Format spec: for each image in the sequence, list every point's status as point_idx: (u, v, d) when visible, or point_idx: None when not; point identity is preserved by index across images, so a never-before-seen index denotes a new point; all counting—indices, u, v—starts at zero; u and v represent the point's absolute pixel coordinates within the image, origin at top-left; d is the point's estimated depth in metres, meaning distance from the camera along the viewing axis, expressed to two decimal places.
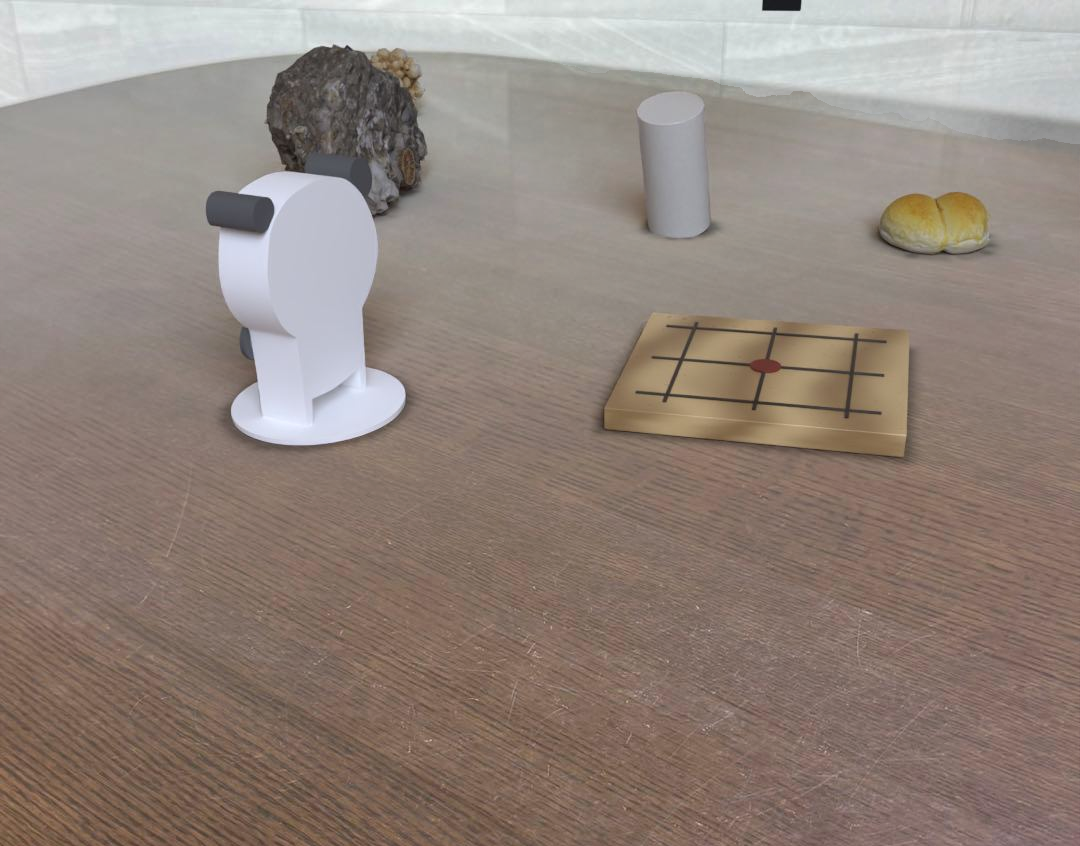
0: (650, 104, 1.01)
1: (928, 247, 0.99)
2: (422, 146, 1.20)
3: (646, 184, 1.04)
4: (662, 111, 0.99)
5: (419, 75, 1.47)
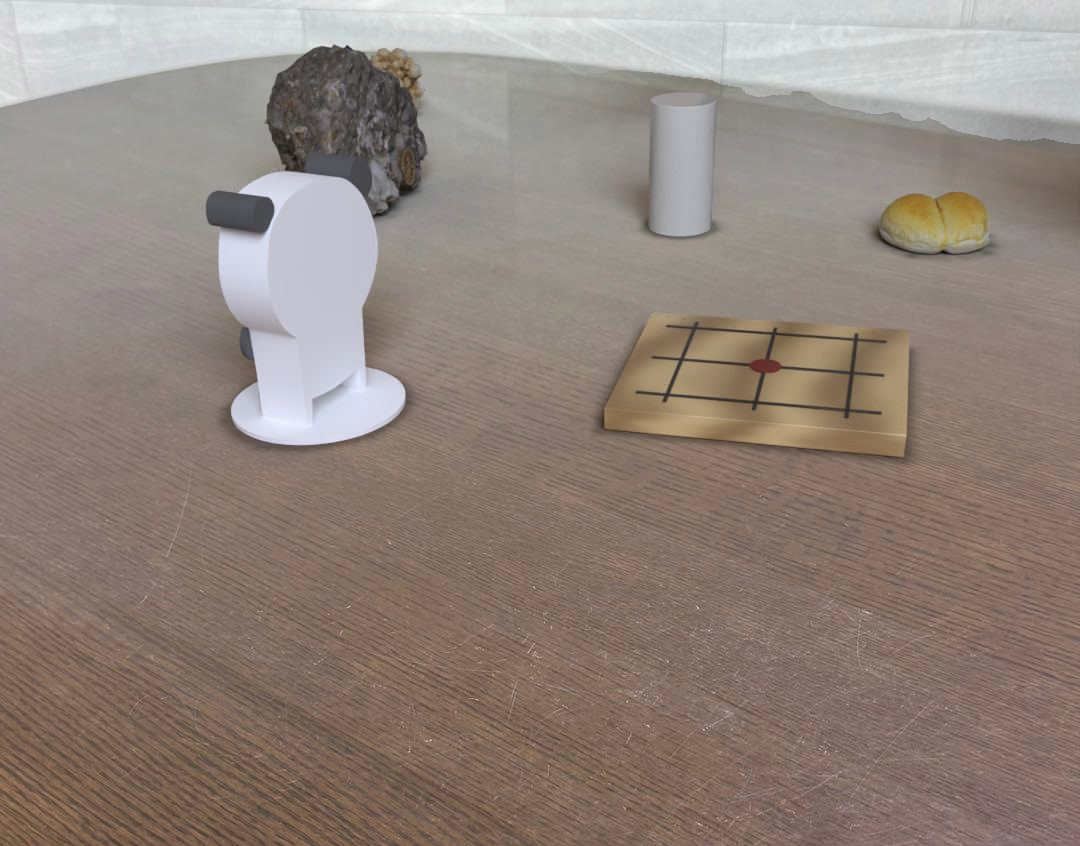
0: (664, 97, 1.03)
1: (928, 247, 0.99)
2: (422, 146, 1.20)
3: (652, 176, 1.04)
4: (676, 101, 1.01)
5: (419, 75, 1.47)
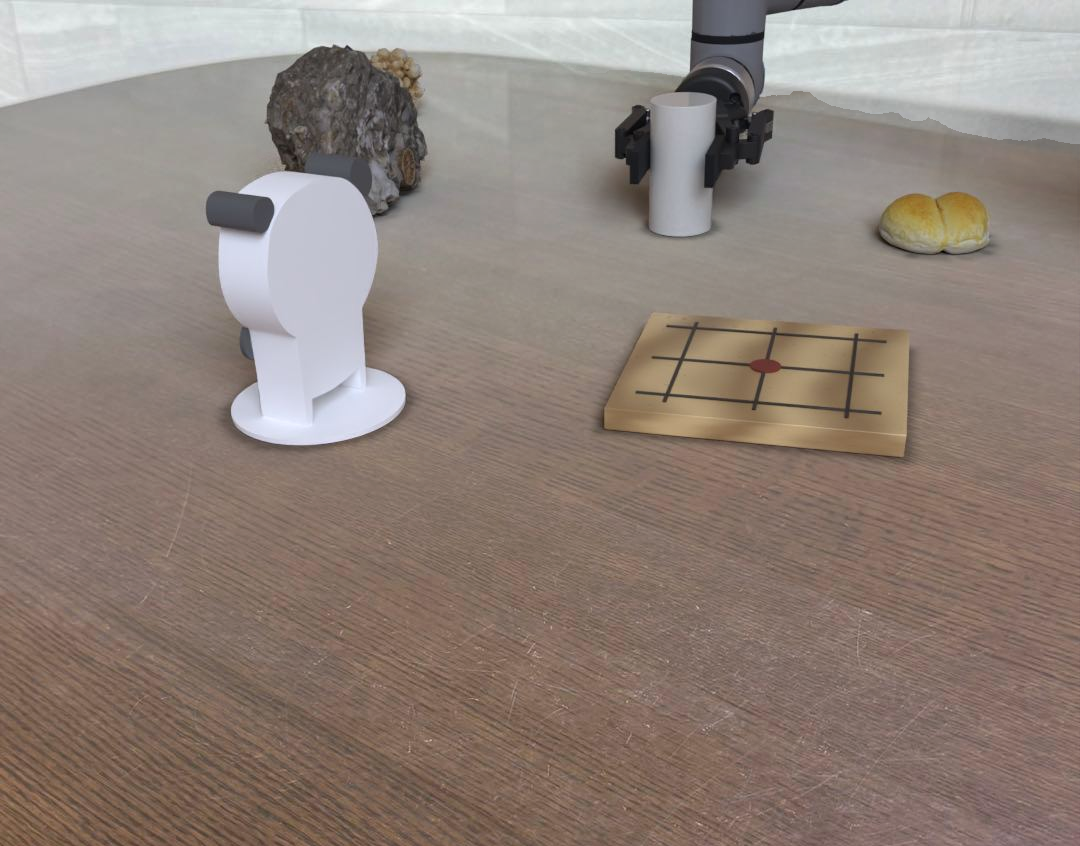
0: (663, 97, 1.03)
1: (928, 247, 0.99)
2: (422, 146, 1.20)
3: (652, 176, 1.04)
4: (676, 101, 1.01)
5: (419, 75, 1.47)
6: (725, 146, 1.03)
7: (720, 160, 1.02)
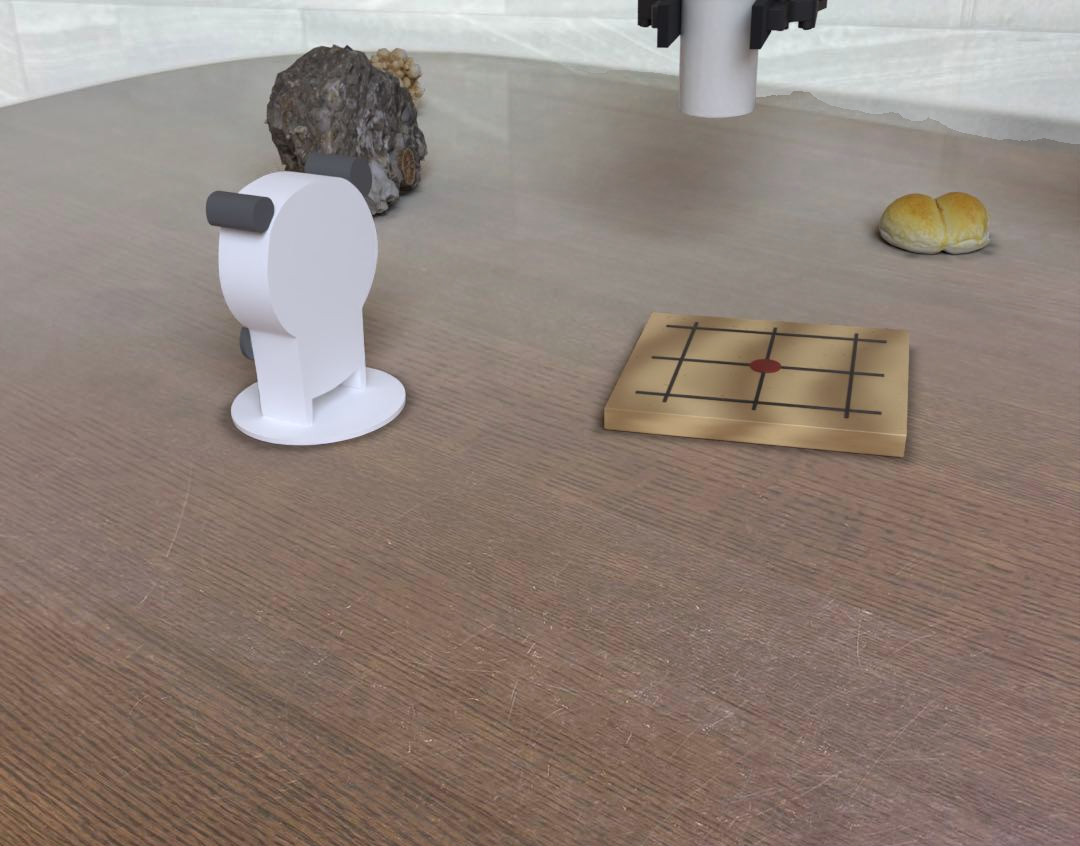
0: None
1: (928, 247, 0.99)
2: (422, 146, 1.20)
3: (684, 42, 0.85)
4: None
5: (419, 75, 1.47)
6: (774, 3, 0.84)
7: (768, 18, 0.83)
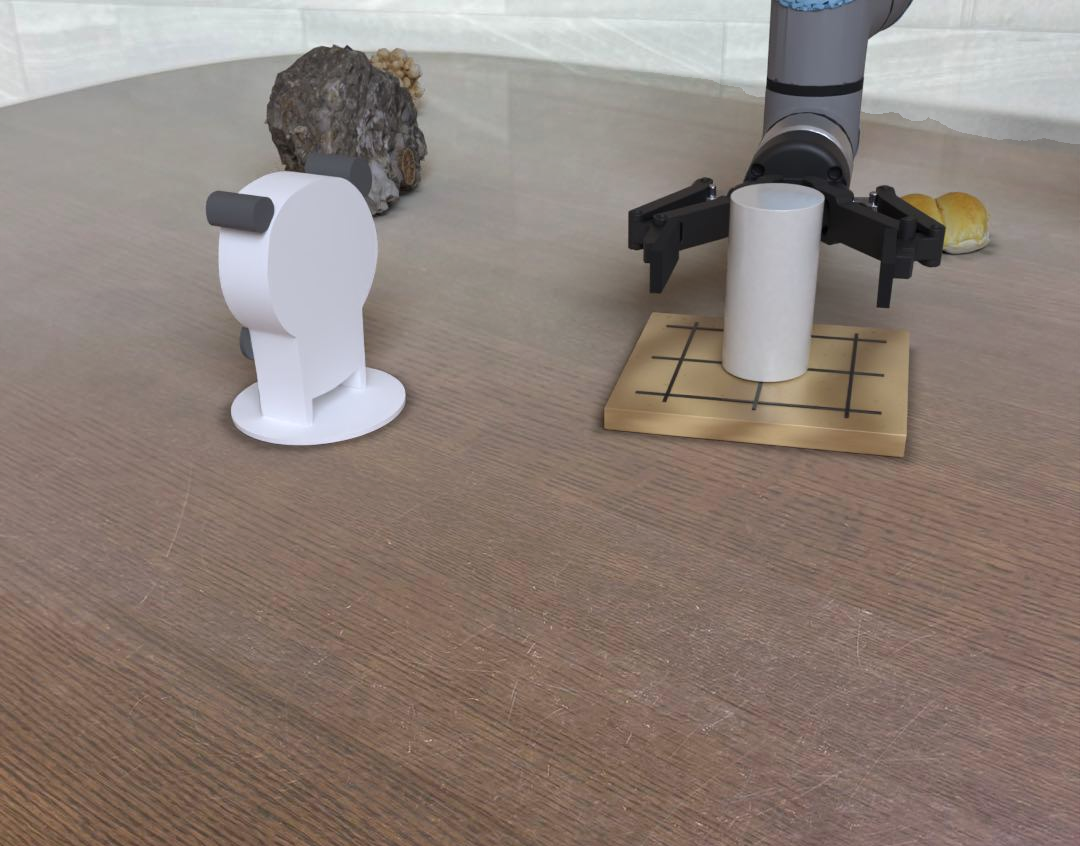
0: (748, 191, 0.73)
1: None
2: (422, 146, 1.20)
3: (730, 300, 0.75)
4: (767, 198, 0.72)
5: (419, 75, 1.47)
6: (898, 245, 0.74)
7: (894, 266, 0.73)
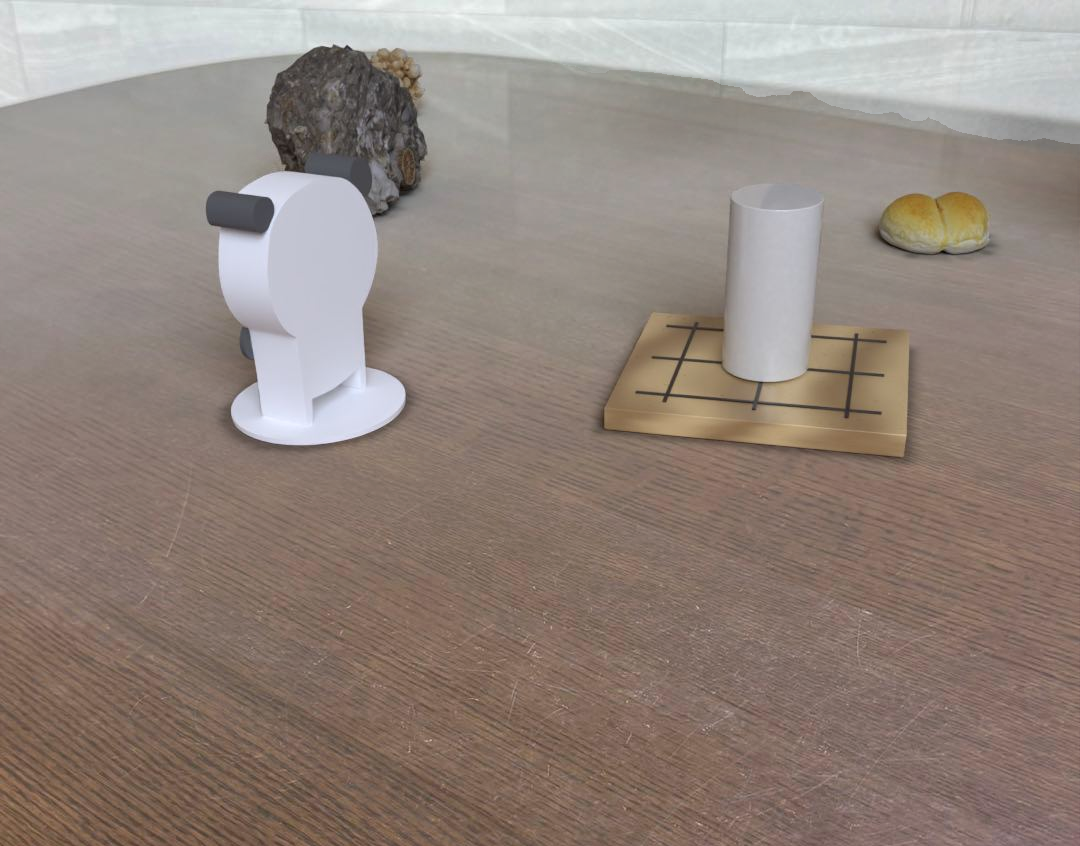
0: (748, 191, 0.73)
1: (928, 247, 0.99)
2: (422, 146, 1.20)
3: (730, 300, 0.75)
4: (767, 198, 0.72)
5: (419, 75, 1.47)
6: None
7: None
